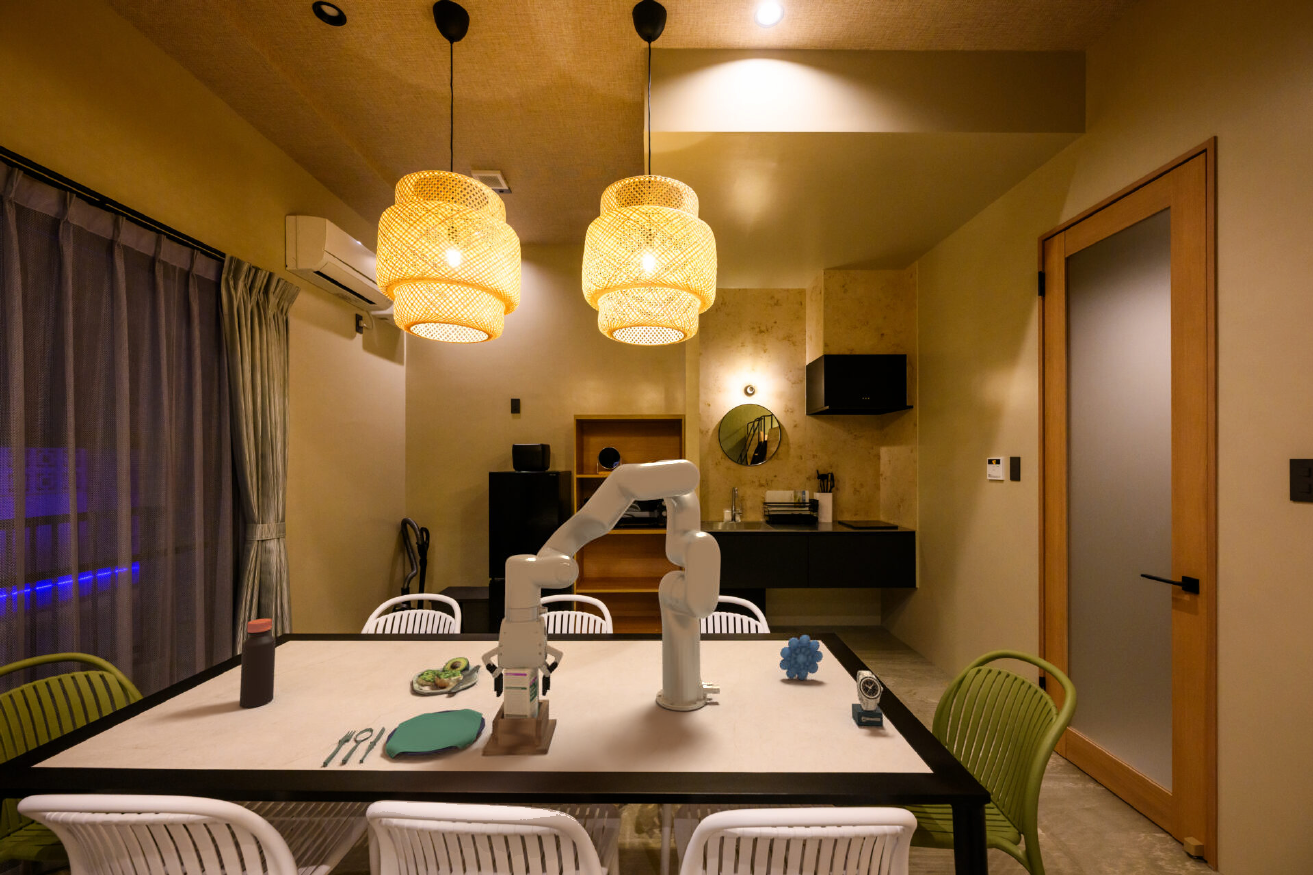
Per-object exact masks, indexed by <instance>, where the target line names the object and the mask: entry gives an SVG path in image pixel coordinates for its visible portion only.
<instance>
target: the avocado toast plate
mask: <svg viewBox="0 0 1313 875" xmlns="http://www.w3.org/2000/svg"><path fill="white" fill-rule="evenodd" d="M481 667H482V665H480V664H477V665H475V666H474V665H471V664H470V662H469V660H468V658H466V657H464V656H460V657H459V656H458V657H454V658H451V659H450V660H448V661H447V662H445V665H444V666H443V667H441V668H440V667H438V668H431V669H430V668H429V669H426V670H422V671H420V672H418V673H416V674H414V676H413V677H412V687H413V691H414V692H416V693H418V694H420V695H425V696H439V695H445V694H451V693H452V694H453V693H456V692H457V693H458V692H459V691H462V690H465V689H466V688H469V687H471V686H473V685H474V684H476V683H477V682H478V679H479V675H478V673H477V672H478V671H479V670H480V668H481ZM422 686H427V687H429V686H431V687H432V686H433V687H435V686H436V687H437V688H438V689H437V690H427V689H424V688H422Z"/></svg>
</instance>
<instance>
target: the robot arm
mask: <svg viewBox="0 0 1313 875" xmlns="http://www.w3.org/2000/svg"><path fill="white" fill-rule="evenodd" d="M700 474H701V473H700V471H699V468H698V467H697V465H695V463H694V462H692V461H690V460H687V459H664V460H663V459H661V460H657V461H656V462H655V461H654V462H649V463H626V464H625V463H623V464H621V465H618V466H617V467H616V468H614V469H613V470H612V472H611V473H610V474H609V475H608V477H607V478H605V480H604V481H603V483H602V484H601V485H600V486H599V487H598V488H597V490H596V491H595V492H594V493H593V494H592V496H591V497H590V498H589V499H588V501H587V502H586V503H585V504H584V505H583V506H582V508H580V510H578V511H577V512H576V513H575V514H573V515H572V516H571V517H570V518H569V519H568V520H567V521H566V522H564V523H563V524H562V525H561V526H560V527H559V528H557V530H556V531H554V532H553V534H551V536H550V538H549V539H548V540H547V541H546V542H545V544H543V546H542V547H541V548H540V549H539V551H538V552H537V554H536V555H534V554H517V555H511V556H509V557H508V558H507V559H506V561H505V583H504V584H505V585H504V586H505V588H504V589H505V590H504V592H505V594H504V595H505V596H504V618H502V621H501V624H500V630H499V637H498V645H497V646H495V647H494V648H492V649H491V650H488V651H486V652H485V653H483V654H482V656H481V658H480V659H481V660H482V663H483V665H484V666H485V669H486V670H487V672H489V673H490V674H491V677H492V678H493V692H494V693H496V694H495V695H496V696H495V697H496V698H500V697H501V695H502V694H503V693H504V672H503V671H504V670H505V669H511V668H539V670H540V671H541V673H542V677H541V695H542V696H543V697H546V695H547V693H548V691H550V690H551V674H552V673H554V671H556V669H557V668H558V666H559V664H560V662H561V661H562V658H563V656H564V652H562V651H561V650H559V649H556V648H554V647H553V646H551V645H549V644H548V633H547V626H546V621H545V617H544V616H542V615H544V614H548V607H547V606H543V605H542V603H541V602H542V601H541V597H542V594H541V592H542V591H541V590H542V589H564V588H565V589H566V588H568V587H570V586H571V585H573V584H574V583H575V581H577V579H578V578H579V573H580V572H579V570H580V569H579V564H578V562H577V561H576V560H575V559H574V558H573V557H574V556H575V554H576V553H578V551H579V550H580V549H581V548H582V547H583V546H585V545H586V544H588V543H590V542H591V541H593V540H595V539H597V538H600V537H602V536H604V535H606V534H608V533H610V532H611V531H612V529H614V527H615V525H617V523H618V521H619V520H620V519H621V518H622V516H623V515H624V514H625V513H626V511H627V510H628V509H629V507H631V505H632V504H633V503H634V501H649V500H650V501H651V500H659V499H660V500H661V499H663V500H664V504H665V507H666V517H667V518H666V537H665V555H666V558H667V559H668V561H669V562H671V563H672V564H674V565H676V566H679V567H682V568H684V571H683V570H673V571H672V570H671V571H670V572H668V573H667V574H666V573H665V575H664V576H663V577H662V579H661V580H660V582H659V586H658V602H659V607H660V613H661V614H660V615H661V626H662V628H661V630H662V631H661V633H662V636H661V638H662V640H661V643H662V644H661V646H662V647H661V648H662V649H661V651H662V652H661V654H662V658H661V659H662V673H661V674H662V688H661V689H660V690H659V691H658V692H657V693H656V698H655V699H656V702H657V703H658V705H660V706H661V707H663V708H665V709H668V710H671V711H680V712H681V711H685V712H686V711H687V712H688V711H693V710H697V709H700V708H701V707H703V706H705V705H706V704H707V702H708V694H709V695H711V694H712V695H719V694H720V693H721V692H720V691H721V689H720V685H719V684H718V685H716V684H715V685H714V683H713V682H704V681H702V678H701V626H700V624H701V623H700V620H703V619H706V618H708V617H710V616H711V615H712V614H713V613H714V612H715V610H716V609H717V605H718V602H719V597H720V582H721V581H720V580H721V550H720V547H719V544H718V542H717V540H716V538H715V537H714V536H713V535H712V534H710V533H708V532H706V531H702V529H701V506H700V501H699V498H698V495H697V493H696V491H695V490H696V489H697V487H698V486H699V484H700V480H701V475H700ZM496 655H497V659H496V660H497V665H496V664H495V663H493V661H492V659H491V658H494V657H495V656H496ZM548 655H550V656H552V657H553V658H554V660H553V662H552V663H548V661H547V660H548Z"/></svg>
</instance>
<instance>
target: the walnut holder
mask: <svg viewBox="0 0 1313 875" xmlns="http://www.w3.org/2000/svg"><path fill="white" fill-rule="evenodd" d="M491 723H492V724H491V727H492V728H491V735H490V736H489V738H488V740H487V741H486V744H485V745H484V747H483V749H482V752H481V753H482V755H481V756H482V757H491V756H492V757H495V755H496V756H497V755H499V756H526V755H527V756H528V755H530V756H531V755H548V754H549V751H550V747H551V744H552V740H553V737H554V734H555V730H556V727H557V718H552V719H551V718H550V699H548V698H547V699H539V713H538V715H537V718H508V719H504V701H502V703H501V705H500V707H499V708H498V710H497V712H496V714H495V716H494V718H493V720H492V721H491ZM493 755H494V756H493ZM497 757H498V756H497Z"/></svg>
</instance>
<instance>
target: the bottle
mask: <svg viewBox="0 0 1313 875" xmlns="http://www.w3.org/2000/svg"><path fill="white" fill-rule="evenodd" d="M272 622H273V619H272V618H258V619H253V620H250V621H248V622H247V630H246V632H247V635H248V637H247V638H246V639H245V640H244V641H243V642H242V644H241V661H240V662H241V665H240V685H239V686H240V688H239V690H240V691H239V692H240V693H239V707H241V708H243V709H251V708H258V707H262V706H265V705H267V704H269V703H271V702H272V701H273V700H274V689H275V688H274V686H275V664H276V663H275V661H276V638H275V637H274V636H273V635H272V634H270V632H272V627H273V626H272V625H273V624H272Z"/></svg>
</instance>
